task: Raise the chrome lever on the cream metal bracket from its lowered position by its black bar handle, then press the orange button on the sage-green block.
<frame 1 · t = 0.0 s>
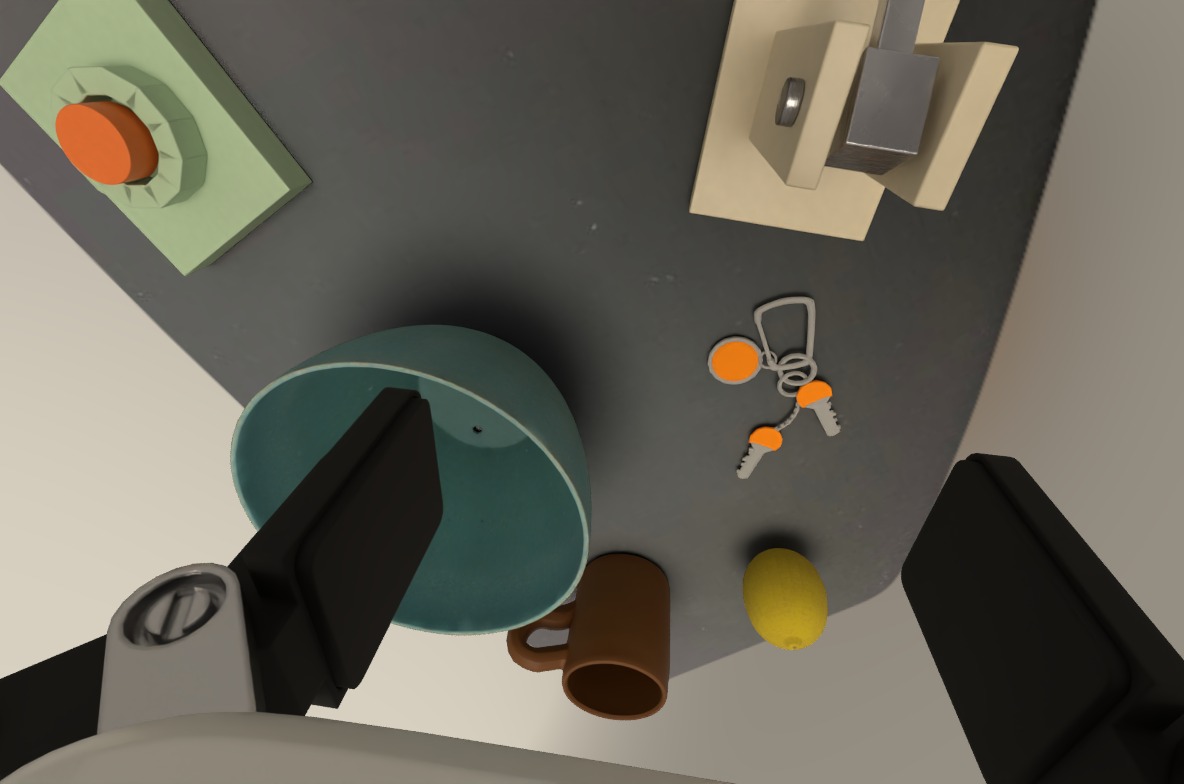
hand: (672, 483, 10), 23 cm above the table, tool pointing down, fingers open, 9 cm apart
plant pot: (481, 392, 38), on the table
button: (108, 143, 27), point 4 cm above the table, slide at 0.1 cm
button block: (177, 131, 31), on the table
bracket: (810, 94, 26), on the table
lemon: (774, 549, 42), on the table
key chain: (774, 391, 35), on the table
mug: (599, 573, 46), on the table
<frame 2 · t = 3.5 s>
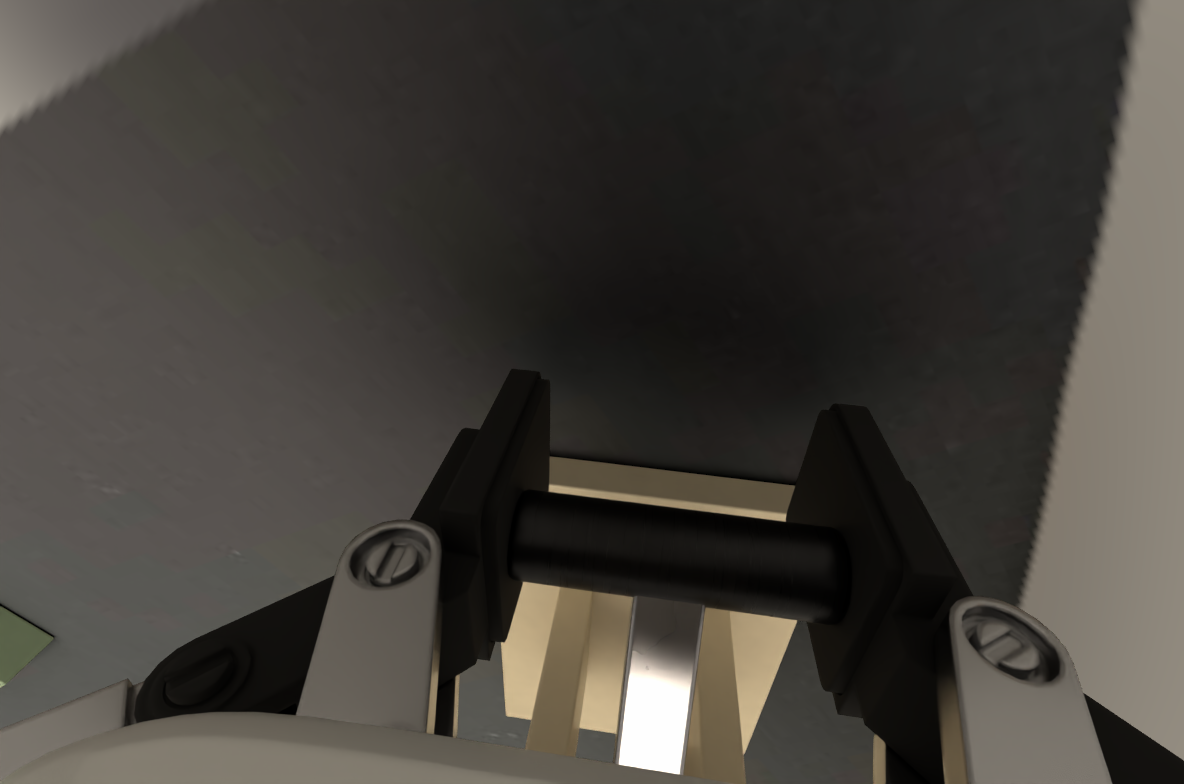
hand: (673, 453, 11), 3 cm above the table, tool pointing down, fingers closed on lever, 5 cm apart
bracket: (639, 606, 18), on the table
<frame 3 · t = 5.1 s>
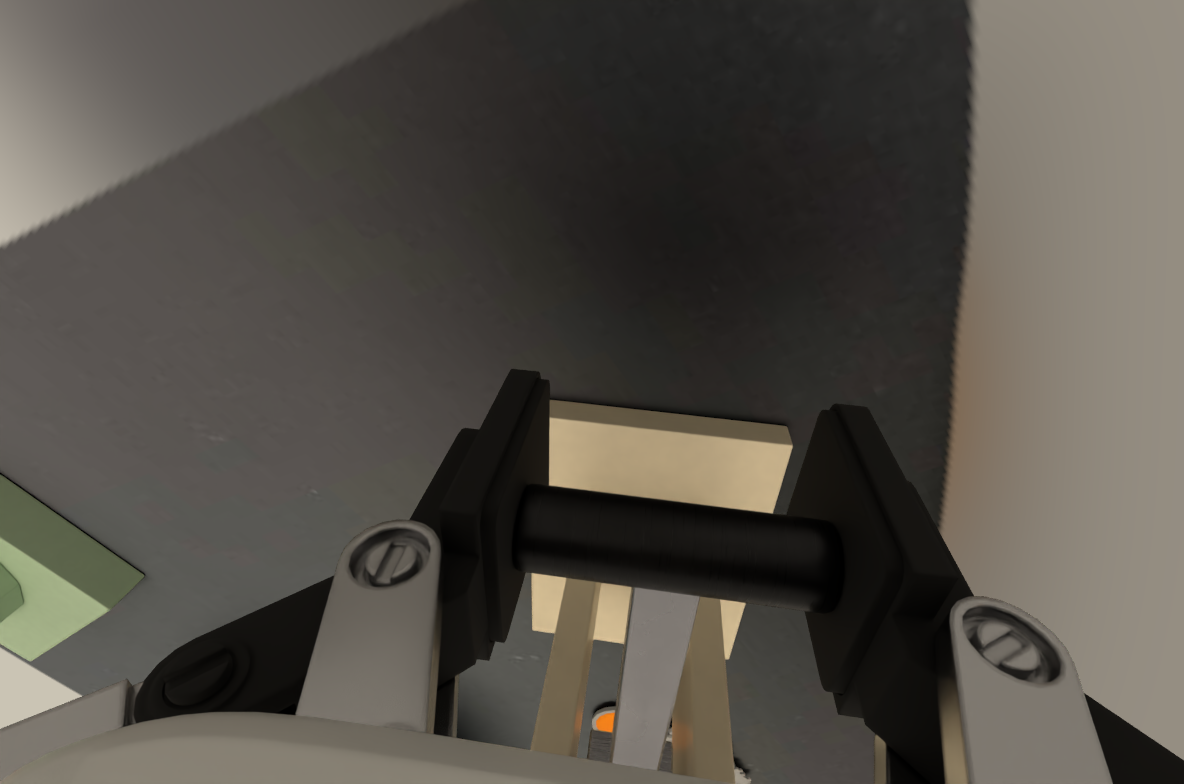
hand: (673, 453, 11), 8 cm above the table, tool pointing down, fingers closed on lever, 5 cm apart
button block: (1, 536, 29), on the table
bracket: (643, 531, 23), on the table
lever: (640, 716, 12), point 10 cm above the table, hinge at 1.1°, touching gripper
key chain: (672, 743, 31), on the table
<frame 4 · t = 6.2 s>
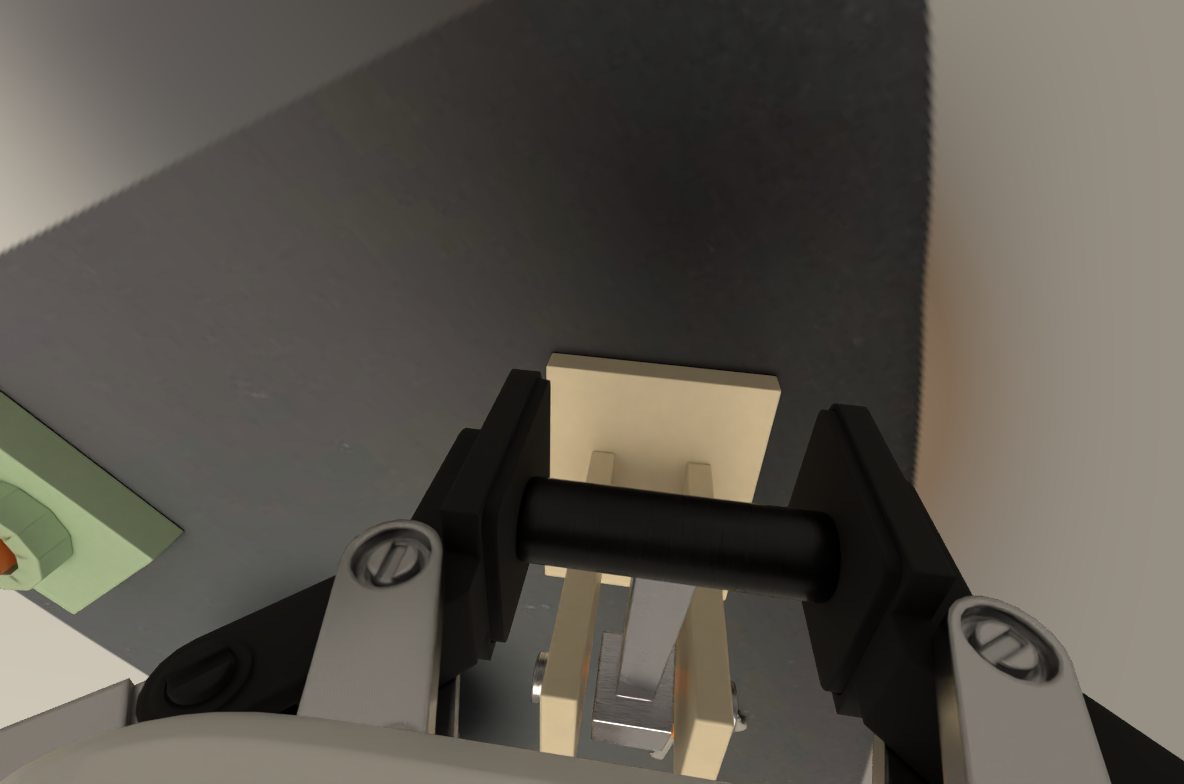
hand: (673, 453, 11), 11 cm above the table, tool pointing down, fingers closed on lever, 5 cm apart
button block: (51, 494, 31), on the table
bracket: (647, 479, 25), on the table
lever: (645, 641, 13), point 11 cm above the table, hinge at 17.1°, touching gripper
key chain: (673, 691, 33), on the table
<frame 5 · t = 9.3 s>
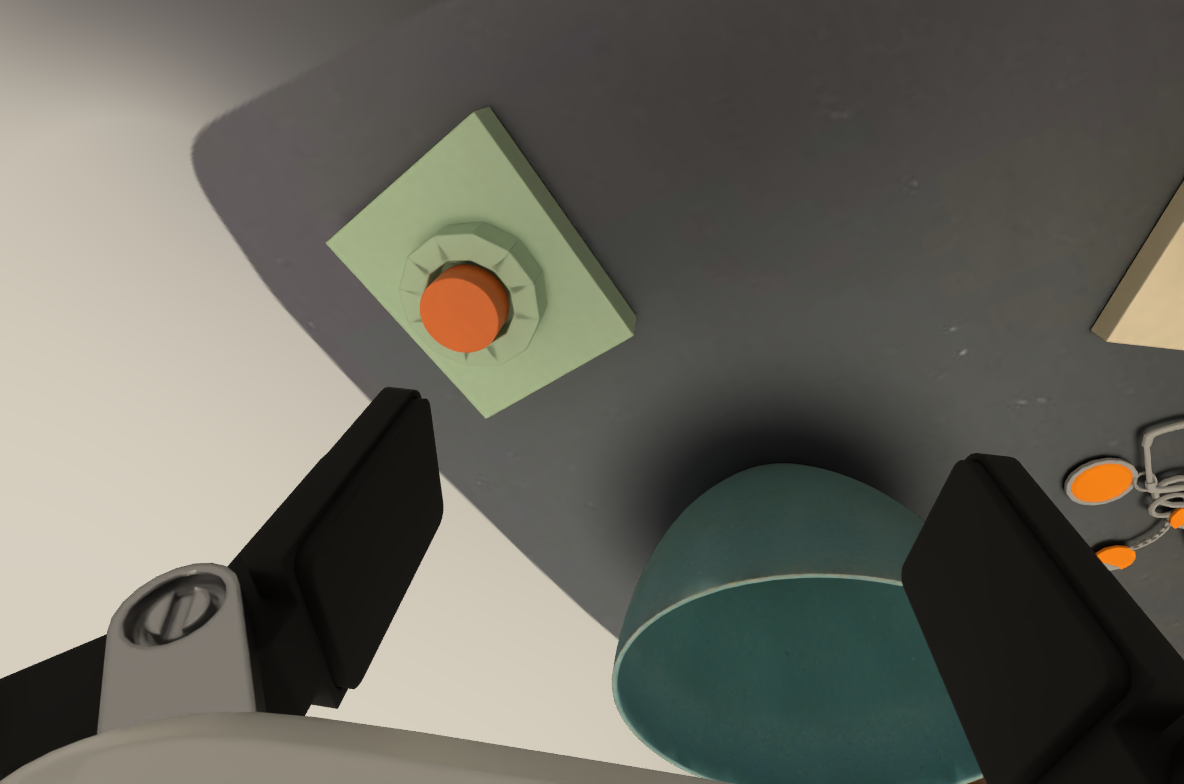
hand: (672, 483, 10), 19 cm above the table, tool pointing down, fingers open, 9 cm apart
plant pot: (774, 512, 35), on the table
button: (465, 308, 25), point 4 cm above the table, slide at 0.1 cm
button block: (493, 273, 29), on the table
key chain: (1135, 508, 31), on the table
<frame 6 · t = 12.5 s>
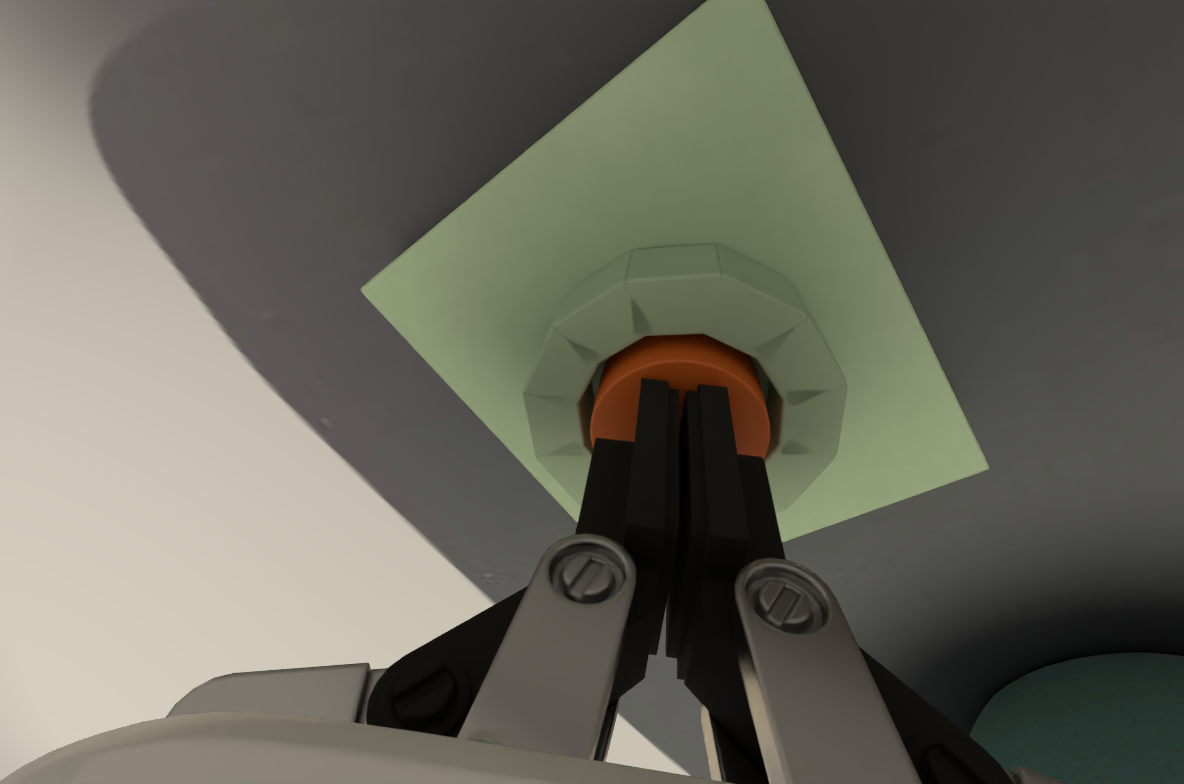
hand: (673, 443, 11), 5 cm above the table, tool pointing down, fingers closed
plant pot: (1096, 711, 21), on the table
button: (678, 414, 12), point 4 cm above the table, slide at -0.8 cm, touching gripper
button block: (678, 339, 15), on the table
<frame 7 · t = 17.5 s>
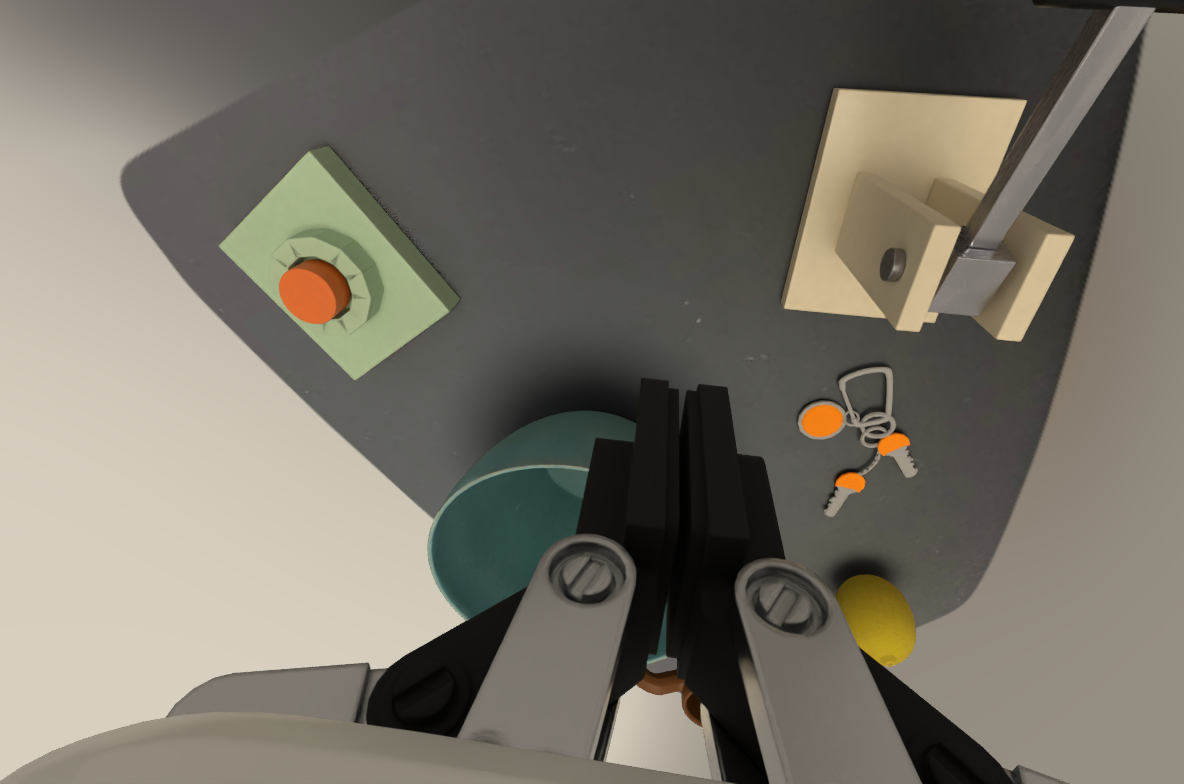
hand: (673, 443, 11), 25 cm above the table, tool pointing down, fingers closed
plant pot: (596, 455, 44), on the table
button: (315, 292, 34), point 4 cm above the table, slide at 0.1 cm
button block: (351, 267, 38), on the table
bracket: (884, 211, 31), on the table
lever: (1027, 163, 20), point 11 cm above the table, hinge at 16.9°
lemon: (858, 574, 47), on the table
key chain: (856, 442, 40), on the table
mug: (697, 602, 52), on the table
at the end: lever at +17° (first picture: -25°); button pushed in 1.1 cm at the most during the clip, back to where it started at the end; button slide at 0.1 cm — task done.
